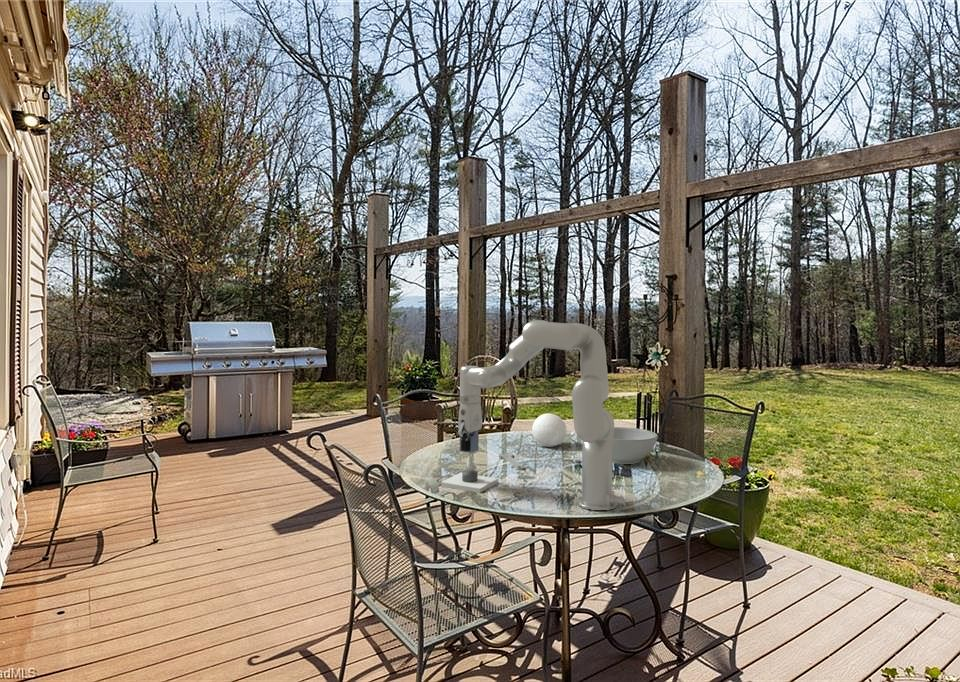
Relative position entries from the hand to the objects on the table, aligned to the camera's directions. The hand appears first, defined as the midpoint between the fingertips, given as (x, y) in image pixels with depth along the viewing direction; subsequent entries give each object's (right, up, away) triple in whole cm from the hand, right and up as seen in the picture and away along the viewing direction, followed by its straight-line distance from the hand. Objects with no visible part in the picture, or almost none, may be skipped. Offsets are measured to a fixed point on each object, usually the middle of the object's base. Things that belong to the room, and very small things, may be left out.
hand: (469, 448), depth 198 cm
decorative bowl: (+66, -12, +35) cm, 76 cm away
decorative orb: (+37, -11, +62) cm, 73 cm away
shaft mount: (0, -13, 0) cm, 13 cm away
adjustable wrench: (+17, -13, +32) cm, 38 cm away
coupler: (0, -1, 0) cm, 1 cm away
